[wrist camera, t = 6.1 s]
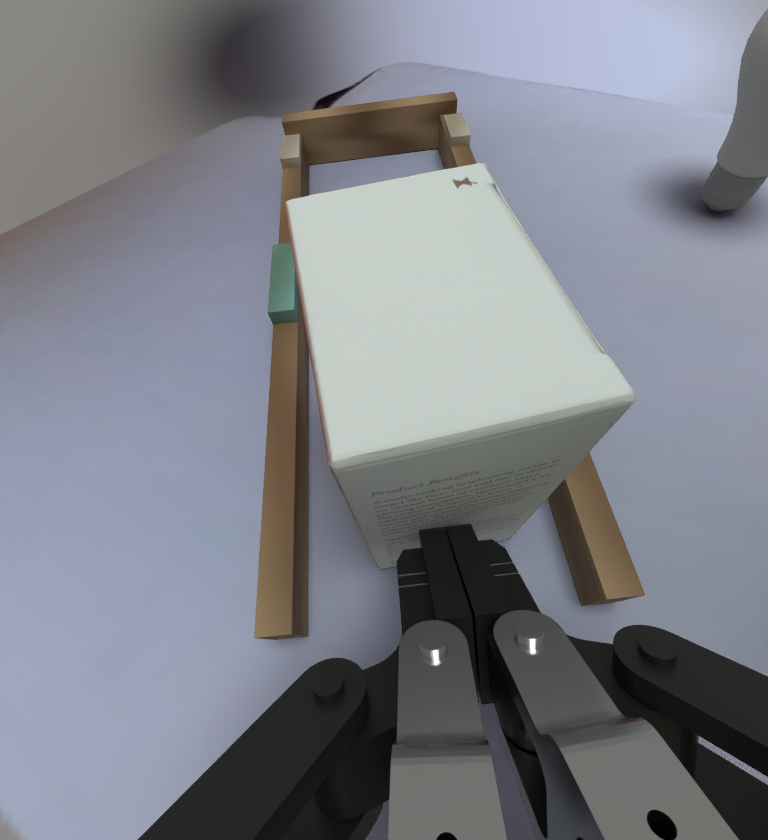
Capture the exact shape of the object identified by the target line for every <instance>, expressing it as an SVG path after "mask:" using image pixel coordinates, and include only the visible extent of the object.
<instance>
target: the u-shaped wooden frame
mask: <svg viewBox="0 0 768 840" xmlns="http://www.w3.org/2000/svg"><path fill="white" fill-rule="evenodd" d="M456 111H457V98H456V95H455V93H454V92H450V93H442V94H434V95H427V96H419V97H411V98H403V99H396V100H388V101H380V102H373V103H365V104H357V105H350V106H342V107H334V108H327V109H319V110H311V111H304V112H296V113H289V114H283V115H282V124H283V128H284V132H285V136H282V140H281V154H280V161H281V164H282V168H283V179H282V195H281V212H280V228H279V244H275V245H273V249H272V263H271V276H270V290H269V304H268V314H269V316H270V319H271V321H272V323H273V325H274V326H273V342H272V358H271V375H270V391H269V407H268V424H267V440H266V456H265V473H264V489H263V505H262V521H261V538H260V554H259V570H258V587H257V603H256V619H255V636H254V638H260V639H274V640H277V639H286V638H295V637H304V636H308V354H309V346H308V341H307V335H306V329H305V323H304V317H303V311H302V305H301V299H300V294H299V288H298V282H297V276H296V270H295V265H294V258H293V252H292V246H291V240H290V234H289V229H288V223H287V217H286V211H285V202H287V201H288V200H291V199H296V198H301V197H305V196H309V165H312V164H320V163H328V162H335V161H343V160H351V159H359V158H367V157H374V156H382V155H390V154H398V153H406V152H414V151H421V150H429V149H437V148H438V149H439V152H440V155H441V159H442V162H443V165H444V168H445V169H450V168H456V167H461V166H467V165H472V164H476V162H475V159H474V157H473V154H472V152H471V149H470V146H469V143H470V133H469V130H468V128H467V125H466V123H465V121H464V118H463V116H462V113H456ZM548 500H549V503H550V506H551V509H552V513H553V516H554V519H555V522H556V525H557V529H558V532H559V535H560V538H561V541H562V545H563V548H564V551H565V554H566V557H567V560H568V564H569V567H570V570H571V573H572V576H573V580H574V583H575V586H576V589H577V592H578V596H579V599H580V602H581V605H582V606H585V605H595V604H604V603H613V602H618V601H622V600H626V599H631V598H635V597H639V596H643V595H645V594H644V591H643V589H642V586H641V583H640V581H639V578H638V576H637V573H636V571H635V568H634V566H633V563H632V560H631V558H630V555H629V553H628V550H627V548H626V545H625V543H624V540H623V537H622V535H621V532H620V530H619V527H618V525H617V522H616V520H615V517H614V514H613V512H612V509H611V507H610V504H609V502H608V499H607V497H606V494H605V491H604V489H603V486H602V484H601V481H600V479H599V476H598V474H597V471H596V468H595V466H594V463H593V461H592V458H591V456H590V453H587V455H586V456H585V457H584V458H583V459H582V460H581V462H580V463H579V464H578V465H577V466H576V467H575V468H574V469H573V470H572V471H571V472H570V473H569V475H568V476H567V477H566V478H565V479H564V480H563V481H562V482H561V483H560V484H559V486H558V487H557V488H556V489H555V490H554V491H553V493H552V494H551V495H550V496H549V497H548Z"/></svg>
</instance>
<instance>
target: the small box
mask: <svg viewBox="0 0 768 840" xmlns="http://www.w3.org/2000/svg"><path fill="white" fill-rule="evenodd" d="M285 211H286V217H287V223H288V229H289V234H290V240H291V246H292V252H293V258H294V265H295V270H296V276H297V282H298V288H299V294H300V299H301V305H302V311H303V317H304V323H305V329H306V335H307V341H308V346H309V352H310V358H311V364H312V369H313V375H314V381H315V387H316V393H317V400H318V406H319V411H320V417H321V423H322V428H323V434H324V440H325V445H326V451H327V458H328V464H329V467H330V469H331V471H332V474H333V476H334V477H335V479H336V481H337V483H338V486H339V488H340V490H341V492H342V494H343V496H344V498H345V500H346V502H347V504H348V506H349V508H350V510H351V512H352V514H353V517H354V519H355V521H356V522H357V524H358V526H359V528H360V530H361V531H362V533H363V536H364V538H365V540H366V543H367V545H368V547H369V549H370V551H371V553H372V555H373V557H374V559H375V561H376V563H377V566H378V568H379V569H387V568H391V567H395V566H397V560H398V558H399V556H400V555H401V553H402V551H403V550H405V549H414V548H421V547H420V538H419V530H422V529H431V528H439V527H444V529H445V527H447V526H455V525H464V524H471V525H472V527H473V530H474V532H475V534H476V536H477V538H478V541H481V540H489V539H493V540H494V541H495V542H498V541H501V540H505V539H509V538H511V537H513V535H514V534H515V533H516V532H517V531H518V530H519V528H520V527H521V526H522V525H523V524H524V523H525V522H526V521H527V520H528V518H529V517H530V516H531V515H532V514H533V513H534V512H535V511H536V510H537V509H538V508H539V507H540V506H541V504H542V503H543V502H544V501H545V500H546V499H547V498H548V497H549V496H550V495H551V494H552V493H553V491H554V490H555V489H556V488H557V487H558V486H559V484H560V483H561V482H562V481H563V480H564V479H565V478H566V477H567V476H568V475H569V473H570V472H571V471H572V470H573V469H574V468H575V467H576V466H577V465H578V464H579V463H580V462H581V460H582V459H583V458H584V457H585V456H586V455H587V453H589V452H590V451H591V449H592V448H593V447H594V446H595V445H596V444H597V443H598V442H599V440H600V439H601V438H602V437H603V436H604V435H605V434H606V433H607V432H608V430H609V429H610V428H611V427H612V426H613V425H614V424H615V423H616V422H617V421H618V420H619V419H620V417H621V416H622V415H623V414H624V413H625V412H626V411H627V410H628V408H629V407H630V406H631V405H632V404H633V403H634V401H635V398H636V394H635V392H634V391H633V389H632V388H631V386H630V385H629V383H628V382H627V381H626V380H625V378H624V377H623V375H622V374H621V372H620V371H619V369H618V368H617V366H616V365H615V363H614V362H613V360H612V359H611V358H610V357H609V356H608V355H607V354H606V353H605V351H604V350H603V349H602V347H601V346H600V344H599V343H598V342H597V340H596V339H595V337H594V336H593V334H592V333H591V331H590V330H589V328H588V327H587V325H586V324H585V322H584V321H583V319H582V318H581V316H580V315H579V313H578V312H577V310H576V309H575V307H574V306H573V304H572V303H571V301H570V300H569V298H568V297H567V295H566V294H565V293H564V291H563V289H562V288H561V286H560V285H559V283H558V282H557V280H556V279H555V277H554V275H553V274H552V272H551V271H550V269H549V268H548V266H547V265H546V263H545V261H544V260H543V258H542V257H541V255H540V254H539V252H538V251H537V249H536V248H535V246H534V245H533V243H532V242H531V240H530V238H529V237H528V235H527V234H526V232H525V231H524V229H523V228H522V226H521V224H520V223H519V221H518V220H517V218H516V216H515V215H514V213H513V212H512V210H511V209H510V207H509V205H508V204H507V202H506V200H505V199H504V197H503V195H502V194H501V192H500V190H499V188H498V186H497V183H496V182H495V180H494V178H493V176H492V175H491V173H490V171H489V169H488V167H487V165H486V164H483V163H477V164H472V165H467V166H461V167H456V168H450V169H444V170H439V171H434V172H429V173H423V174H418V175H413V176H408V177H403V178H398V179H393V180H387V181H382V182H377V183H372V184H367V185H362V186H356V187H351V188H346V189H340V190H335V191H330V192H325V193H320V194H314V195H309V196H305V197H301V198H296V199H291V200H288V201H287V202H285Z"/></svg>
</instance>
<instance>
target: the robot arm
mask: <svg viewBox="0 0 768 840" xmlns="http://www.w3.org/2000/svg"><path fill="white" fill-rule="evenodd" d="M419 538H420V547H421V548H414V549H405V550H403V551H402V553H401V555H400V556H399V558H398V560H397V572H398V584H399V597H400V609H401V621H402V638H401V641H400V644H399V646H398V647H397V649H396V650H395V651H394V653H393V654H392V655H391V656H389V657H388V658H387V659H386V660H384V661H383V662H381V663H379V664H377V665H374V666H372V667H370V668H367V669H365V670H363V671H362V669H361V668H360V667H359V666H358V665H357V664H356V663H354V662H352V661H350V660H347V659H343V658H332V659H327V660H324V661H321V662H319V663H317V664H315V665H313V666H312V667H310V668H309V669H308V670H306V671H305V672H304V673H303V674H302V675H301V676H300V677H299V678H298V679H297V680H296V681H295V682H294V683H293V684H292V685H291V686H290V687H289V688H288V689H287V690H286V691H285V692H284V693H283V694H282V695H281V696H280V697H279V698H278V699H277V700H276V701H275V702H274V703H273V704H272V705H271V706H270V707H269V708H268V709H267V710H266V711H265V712H264V713H263V714H262V715H261V716H260V717H259V718H258V719H257V720H256V721H255V722H254V723H253V724H252V725H251V726H250V727H249V728H248V729H247V730H246V731H245V732H244V733H243V734H242V735H241V736H240V737H239V738H238V739H237V740H236V741H235V742H234V743H233V744H232V745H231V746H230V748H229V749H228V750H227V751H226V752H225V753H224V754H223V755H222V756H221V757H220V758H219V759H218V760H217V761H216V762H215V763H214V764H213V765H212V766H211V767H210V768H209V769H208V770H207V771H206V772H205V773H204V774H203V775H202V776H201V777H200V778H199V779H198V780H197V781H196V782H195V783H194V784H193V785H192V786H191V787H190V788H189V789H188V790H187V791H186V792H185V793H184V794H183V795H182V796H181V797H180V798H179V799H178V800H177V801H176V802H175V803H174V804H173V805H172V806H171V807H170V808H169V809H168V810H167V811H166V812H165V813H164V814H163V815H162V816H161V817H160V818H159V819H158V820H157V821H156V822H155V823H154V824H153V825H152V826H151V827H150V828H149V829H148V830H147V831H146V832H145V833H144V834H143V835H142V836H141V837H140V838H139V839H138V840H365V839H366V837H367V835H368V834H369V832H370V830H371V829H372V827H373V825H374V824H375V822H376V820H377V818H378V816H379V814H380V812H381V809H382V806H383V803H384V802H386V801H387V800H389V823H388V840H507V836H506V831H505V826H504V820H503V815H502V810H501V804H500V799H499V794H498V789H497V783H496V778H495V773H494V767H493V762H492V757H491V752H490V748H489V744H488V741H487V740H485V736H484V731H483V726H482V720H481V715H480V709H479V699H478V692H479V695H480V699H481V703H482V704H489V703H494V704H495V708H496V711H497V714H498V718H499V731H500V740H501V743H502V746H503V749H504V752H505V755H506V757H507V760H508V763H509V765H510V768H511V771H512V774H513V776H514V779H515V782H516V785H517V787H518V790H519V793H520V796H521V798H522V801H523V804H524V806H525V809H526V812H527V815H528V817H529V820H530V823H531V826H532V828H533V831H534V834H535V836H536V839H537V840H768V785H767V784H765V783H763V782H762V781H760V780H758V779H757V778H755V777H753V776H752V775H750V774H749V773H747V772H745V771H744V770H742V769H740V768H739V767H737V766H735V765H734V764H732V763H730V762H729V761H727V760H725V759H724V758H722V757H721V756H719V755H717V754H716V753H714V752H712V751H711V750H709V749H707V748H706V747H704V746H702V745H701V744H699V743H698V737H699V736H700V737H702V738H704V739H705V740H707V741H709V742H710V743H712V744H714V745H715V746H717V747H719V748H720V749H722V750H724V751H725V752H727V753H729V754H730V755H732V756H734V757H735V758H737V759H739V760H740V761H742V762H744V763H745V764H747V765H749V766H751V767H752V768H754V769H756V770H757V771H759V772H761V773H762V774H764V775H766V776H767V777H768V677H767V676H765V675H763V674H761V673H759V672H756V671H754V670H752V669H750V668H748V667H745V666H743V665H741V664H739V663H737V662H734V661H732V660H730V659H728V658H726V657H723V656H721V655H719V654H717V653H715V652H712V651H710V650H708V649H706V648H704V647H701V646H699V645H697V644H695V643H693V642H690V641H688V640H686V639H684V638H682V637H679V636H677V635H675V634H673V633H671V632H668V631H666V630H663V629H660V628H657V627H652V626H647V625H632V626H627V627H624V628H622V629H621V630H619V631H618V632H617V633H616V635H615V636H614V640H613V644H607V643H600V642H593V641H587V640H581V639H577V638H574V637H571V636H569V635H566V634H565V633H564V631H563V630H562V628H561V627H560V626H559V625H558V624H557V623H556V622H555V621H554V620H552V619H551V618H549V617H548V616H546V615H544V614H541V612H540V611H539V609H538V607H537V605H536V603H535V602H534V600H533V598H532V596H531V594H530V592H529V591H528V589H527V587H526V585H525V583H524V582H523V580H522V578H521V576H520V574H518V571H517V569H516V567H515V565H514V564H513V563H512V560H511V558H510V556H509V554H508V553H507V551H506V549H505V548H504V547H502V546H501V545H500V544H498V543H497V542H495V541H494V540H493V539H489V540H481V541H478V538H477V536H476V534H475V532H474V530H473V527H472V525H471V524H464V525H455V526H447V527H445V529H444V527H439V528H431V529H422V530H419Z"/></svg>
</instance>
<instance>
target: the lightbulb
mask: <svg viewBox="0 0 768 840" xmlns="http://www.w3.org/2000/svg"><path fill="white" fill-rule="evenodd" d="M717 160H718V162H717V164H716V165H715V167H714V169H713V170H712V172H711V173H710V176H709V178H708V179H707V181H706V183H705V185H704V187H703V189H702V191H701V196H702V199H703V201H704V202H705V203H707V204H708V207H709V208H710V209H711V210H713V211H724V210H732V209H737V208H739V207H741V206H743V205H745V204H746V203H747V202H748V200H749V199H750V198H751V197H752V196H753V194H754V193H755V192H756V191H757V190H758V189H759V187H760V186H761V185H762V184H763V183H764V181H765V180H766V178H767V177H768V9H767V10H766V11H765V13H764V14H763V16H762V17H761V18H760V20H759V21H758V23H757V24H756V26H755V28H754V30H753V31H752V33H751V35H750V37H749V39H748V41H747V44H746V47H745V50H744V53H743V56H742V59H741V67H740V73H739V81H738V92H737V105H736V109H735V113H734V118H733V121H732V124H731V126H730V129H729V131H728V134H727V136H726V139H725V141H724V143H723V144H722V146H721V148H720V150H719V152H718V155H717Z"/></svg>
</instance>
